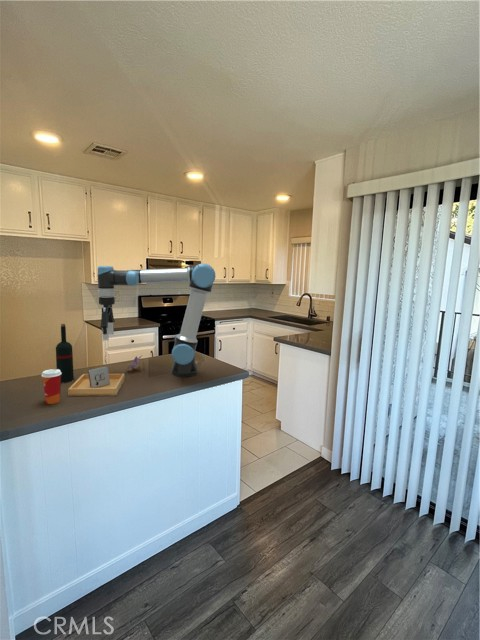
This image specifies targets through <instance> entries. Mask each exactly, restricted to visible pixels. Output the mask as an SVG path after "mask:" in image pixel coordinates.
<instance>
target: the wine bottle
mask: <svg viewBox="0 0 480 640" xmlns="http://www.w3.org/2000/svg"><path fill="white" fill-rule="evenodd" d="M66 329H67V327H66V323H60V338H61V339H60V340H61V341H60V342H59V343H57V344H56V346H55V360H56V361H55V364H56V370H57V369H59V370H60V371H61V373H62V374H61V384H63V383H64V384H65V382H66V383H70V382H73V381H75V380H74V379H75V378H74V377H75V376H74V375H75V374H74V373H75V372H74V357H73V356H74V355H73V345H72V344H71V342H68V341H67V332H66ZM72 380H73V381H72Z"/></svg>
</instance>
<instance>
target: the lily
mask: <svg viewBox="0 0 480 640" xmlns="http://www.w3.org/2000/svg"><path fill="white" fill-rule="evenodd" d="M141 358H142V355H140V356H139V357H138V356H137V355H136V356H135V357H134V359H133V360H132V362H131V364H130V365H129V366H128V367H127V369H126V371H125V372H128V370H129V369H134V368H135V367H138V368H139V370H140V372H142V368H140V366H139V361H140V360H141Z"/></svg>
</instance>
